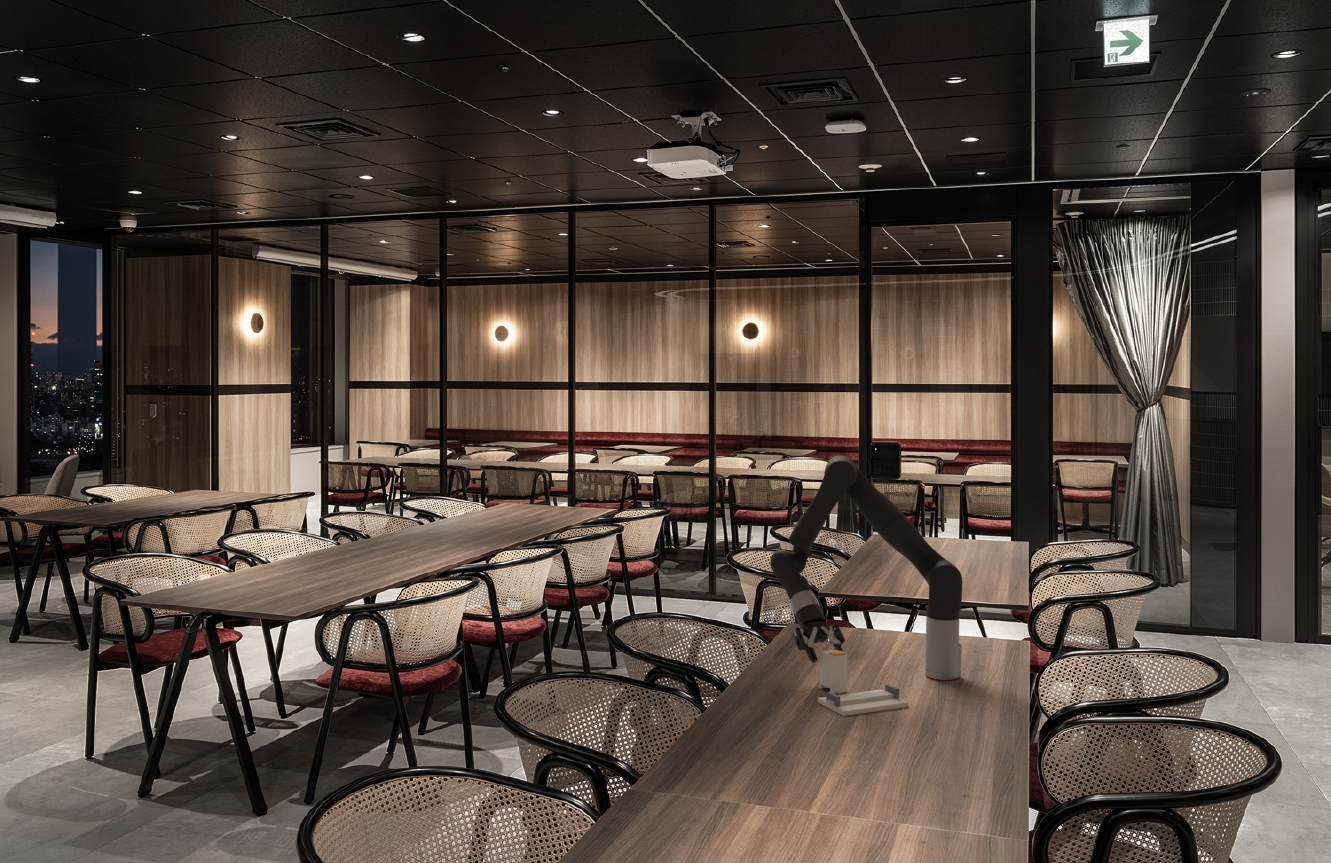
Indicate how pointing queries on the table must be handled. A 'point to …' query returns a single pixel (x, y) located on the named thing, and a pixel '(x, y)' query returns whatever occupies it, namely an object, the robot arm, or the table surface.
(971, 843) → the table surface
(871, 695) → the mounting board
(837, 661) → the rail module
